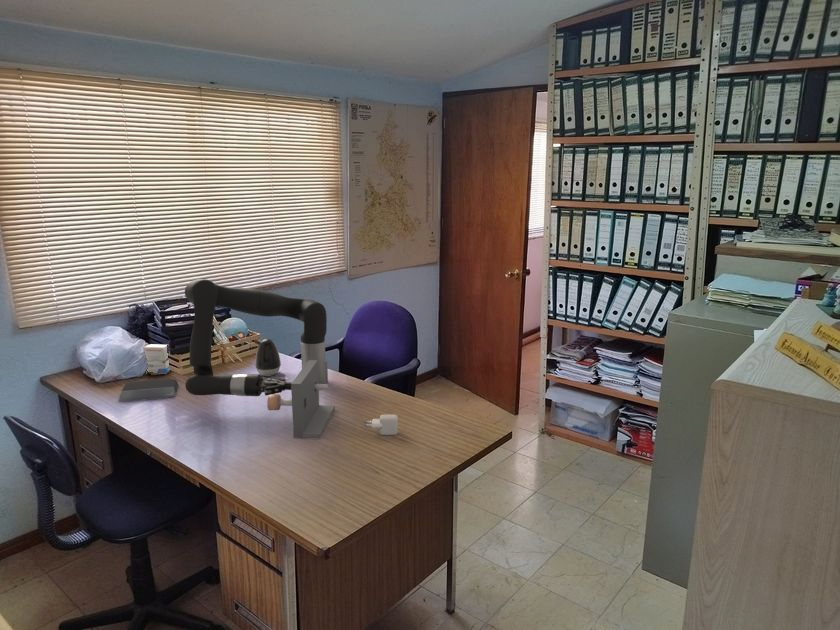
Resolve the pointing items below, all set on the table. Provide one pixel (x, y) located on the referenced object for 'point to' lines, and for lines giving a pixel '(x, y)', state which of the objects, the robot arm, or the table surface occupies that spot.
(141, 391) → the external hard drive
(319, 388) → the cream knob
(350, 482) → the table surface
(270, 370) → the dark grey tapered speaker
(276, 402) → the terracotta knob
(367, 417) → the table surface
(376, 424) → the power adapter
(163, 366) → the ink box
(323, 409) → the knob mount
